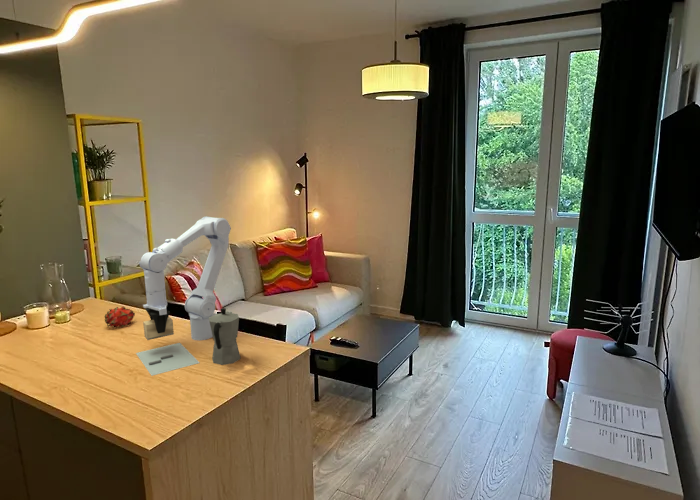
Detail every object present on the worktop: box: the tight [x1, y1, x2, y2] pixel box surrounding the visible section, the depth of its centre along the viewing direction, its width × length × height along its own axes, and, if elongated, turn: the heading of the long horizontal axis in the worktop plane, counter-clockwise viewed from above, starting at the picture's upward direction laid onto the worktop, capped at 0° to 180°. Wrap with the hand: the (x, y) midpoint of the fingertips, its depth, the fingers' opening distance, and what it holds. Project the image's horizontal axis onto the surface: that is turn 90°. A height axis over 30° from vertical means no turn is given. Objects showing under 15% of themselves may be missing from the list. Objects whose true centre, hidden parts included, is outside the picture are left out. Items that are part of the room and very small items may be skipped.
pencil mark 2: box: [161, 355, 173, 360], centre depth 143 cm, size 4×1×1 cm, turn 127°
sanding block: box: [142, 316, 175, 341], centre depth 146 cm, size 8×4×5 cm, turn 127°
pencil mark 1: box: [149, 360, 162, 365], centre depth 139 cm, size 4×1×1 cm, turn 127°
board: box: [135, 342, 200, 377], centre depth 143 cm, size 14×20×2 cm
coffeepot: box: [209, 307, 241, 366], centre depth 139 cm, size 15×9×18 cm, turn 0°
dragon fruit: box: [104, 306, 136, 329], centre depth 175 cm, size 8×8×12 cm
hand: (159, 330), depth 146 cm, fingers closed on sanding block, 4 cm apart
